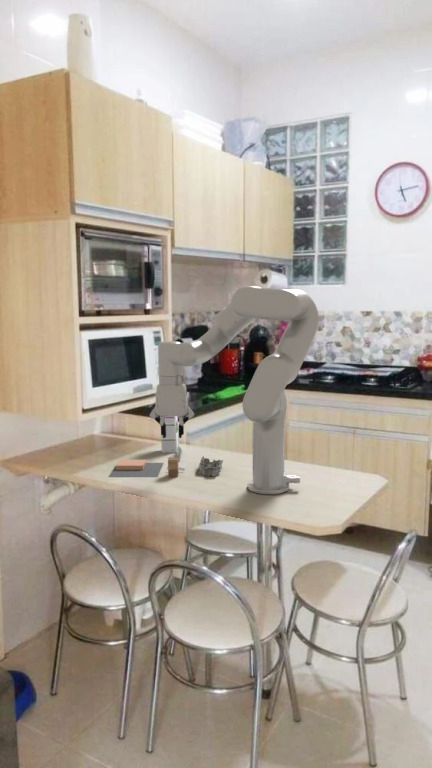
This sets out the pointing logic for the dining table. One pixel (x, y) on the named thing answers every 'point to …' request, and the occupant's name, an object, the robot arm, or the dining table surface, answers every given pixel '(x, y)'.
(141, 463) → the tile
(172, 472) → the turner
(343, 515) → the dining table surface
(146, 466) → the mat
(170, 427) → the syrup box
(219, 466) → the egg carton
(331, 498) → the dining table surface
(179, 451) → the ceramic fragment
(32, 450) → the dining table surface
